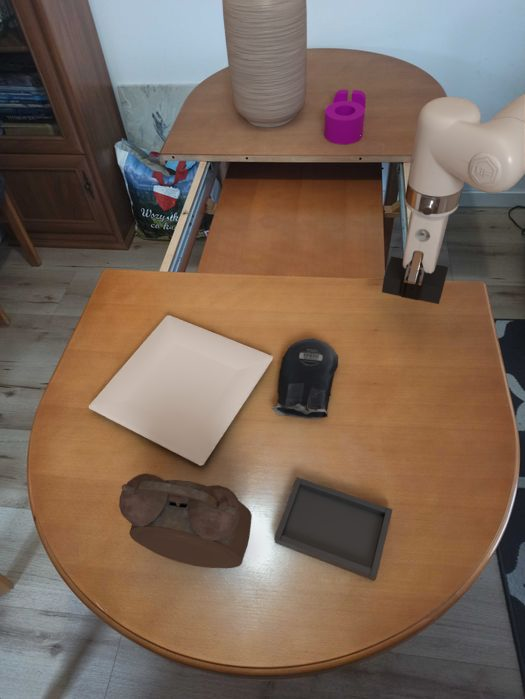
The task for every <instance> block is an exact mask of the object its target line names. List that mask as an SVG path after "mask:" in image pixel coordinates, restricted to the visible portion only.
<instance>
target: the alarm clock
mask: <svg viewBox="0 0 525 699" xmlns="http://www.w3.org/2000/svg"><path fill="white" fill-rule="evenodd" d="M118 507H119V510H120V513H121V515H122V517H123V518H124V519H125V520H126V521H127V522H129V523H130V524H131V526H130V529H129V533H128V534H129V536H130V538H131V539H132V540H133V541H134V542H136V543H137V544H139V545H140V546H141V547H144V548H145V549H147V550H149V551H151V552H153V553H155V554H156V555H159V556H161V557H164V558H165V559H169V560H171V561H175V562H178V563H182V564H185V565H190V566H194V567H199V568H208V569H233V568H238V567H240V566H241V565H242V564H243V562H244V557H245V554H246V552H247V549H248V547H249V546H248V545H249V541H250V536H251V527H252V520H253V514H252V512H251V510H250V509H249V508H248V507H247V506H246V505H245V504H244V503H242V502H241V500H239V498H238V497H237V495H236V493H235V492H234V491H233V490H231V489H229V488H228V487H227V486H223V485H220V484H214V485H213V484H212V485H211V484H210V485H207V484H203V483H199V482H195V481H188V480H181V479H167V480H165V479H163V478H162V477H160V476H158V475H156V474H151V473H141V474H138V475H136V476H134V477H132V478H131V479H130V480H128V481H127V483H124V484H122V486H121V492H120V494H119V502H118Z"/></svg>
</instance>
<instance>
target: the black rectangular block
mask: <svg viewBox="0 0 525 699" xmlns="http://www.w3.org/2000/svg"><path fill="white" fill-rule="evenodd" d="M411 263H412V261H411ZM421 265H423V264H422V262H421ZM406 269H407V268H406ZM406 269H405V268H404V267H403V257H396V256H390V258H389V261H388V265H387V267H386V270H385V273H384V276H383V282H382V286H381V287H382V288H381V293H382V294H388V295H392V296H397V297H401V296H400V293H401V288H402V283H403V278H404V277H405V274H406ZM448 270H449V266H446V265H440V264H436V267H435V270H434V272H432V273H426V272H424V276H423V280H422V281H424V283H423V287H422V291H421V296H420V299H419V300H418V301H422V302H425V303H426V302H427V303H430V304H437V305H440V303H441V302H440V301H441V298H442V294H443V290H444V287H445V284H446V283H445V282H446V278H447V274H448ZM420 273H421V271H419V272H418V277H420Z"/></svg>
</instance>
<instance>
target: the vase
mask: <svg viewBox="0 0 525 699" xmlns="http://www.w3.org/2000/svg"><path fill="white" fill-rule="evenodd" d="M221 2H222V3H221V6H222V19H223V28H224V37H225V38H224V39H225V46H226V47H225V48H226V56H227V64H228V65H227V66H228V73H229V82H230V89H231V96H232V100H233V105H234V108H235V110H236V111H237V113H238V114H239V115H240V116H241V117H242V118H244V119H245V120H246V121H247V122H248V124H251V125H253V126H256V127H259V128H276V127H281V126H283V125H286V124H288V123H290V122H292V121H293V119H294V118H295V117H296V115H297V114H298V113H300V111H301V109H303V106H304V105H305V102H306V98H307V86H308V85H307V84H308V83H307V80H308V79H307V78H308V77H307V75H308V74H307V73H308V7H307V0H221Z"/></svg>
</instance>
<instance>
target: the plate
mask: <svg viewBox="0 0 525 699" xmlns="http://www.w3.org/2000/svg"><path fill="white" fill-rule="evenodd" d="M273 359H274V356H273V355H271V354H268V353H266V352H263V351H260V350H258V349H256V348H253V347H251V346H248V345H245V344H243V343H240V342H238V341H235V340H233V339H230V338H228V337H225V336H223V335H220V334H218V333H215V332H212V331H210V330H208V329H206V328H203V327H200V326H198V325H195V324H192V323H190V322H188V321H185V320H183V319H181V318H177V317H175V316H173V315H170V314H167V315H166V316H165V317H164V318H163V319H162V320H161V321H160V323H159V324H157V326H156V327H155V328H154V329H153V331H152V332H151V333H149V335H148V336H147V338H146V339H145V340H144V341H143V342H142V343H141V345H140V346H138V348H137V349H136V350H135V352H134V353H133V354H132V355H131V356H130V358H129V359H128V360H127V361H126V362H125V363H124V364H123V366H121V367H120V369H119V370H118V371H117V372H116V373H115V375H114V376H112V378H111V380H110V381H109V382H107V384H106V385H105V386H104V387H103V389H102V390H101V391H100V392H99V394H97V396H96V397H94V399H93V400H92V402H90V404H89V405H88V409H89V410H91V411H93V412H95V413H97V414H99V415H101V416H103V417H105V418H106V419H108V420H110V421H112V422H114V423H116V424H118V425H121V426H122V427H124V428H126V429H128V430H130V431H131V432H134V433H135V434H138V435H140V436H142V437H143V438H146V439H148V440H149V441H151V442H153V443H155V444H157V445H159V446H161V447H163V448H165V449H167V450H169V451H171V452H173V453H175V454H177V455H179V456H180V457H183V458H185V459H186V460H188V461H191V462H192V463H194V464H196V465H198V466H204V465H205V463H206V461H207V460H208V458H209V457H210V455H211V454H212V452H213V451H214V449H215V448H216V447H217V445H218V444H219V441H220V440H221V439H222V437H223V436H224V434H225V433H226V431H227V429H228V428H229V427H230V425H231V424H232V422H233V420H234V419H235V418H236V417H237V415H238V414H239V411H240V410H241V408H242V407H243V405H244V403H245V402H246V401H247V399H248V397H249V396H250V395H251V393H252V391H253V390H254V388H255V387H256V385H258V383H259V381H260V379H261V378H262V377H263V375H264V374H265V372H266V370H267V369H268V367H269V366H270V364H271V363H272V362H273Z"/></svg>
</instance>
